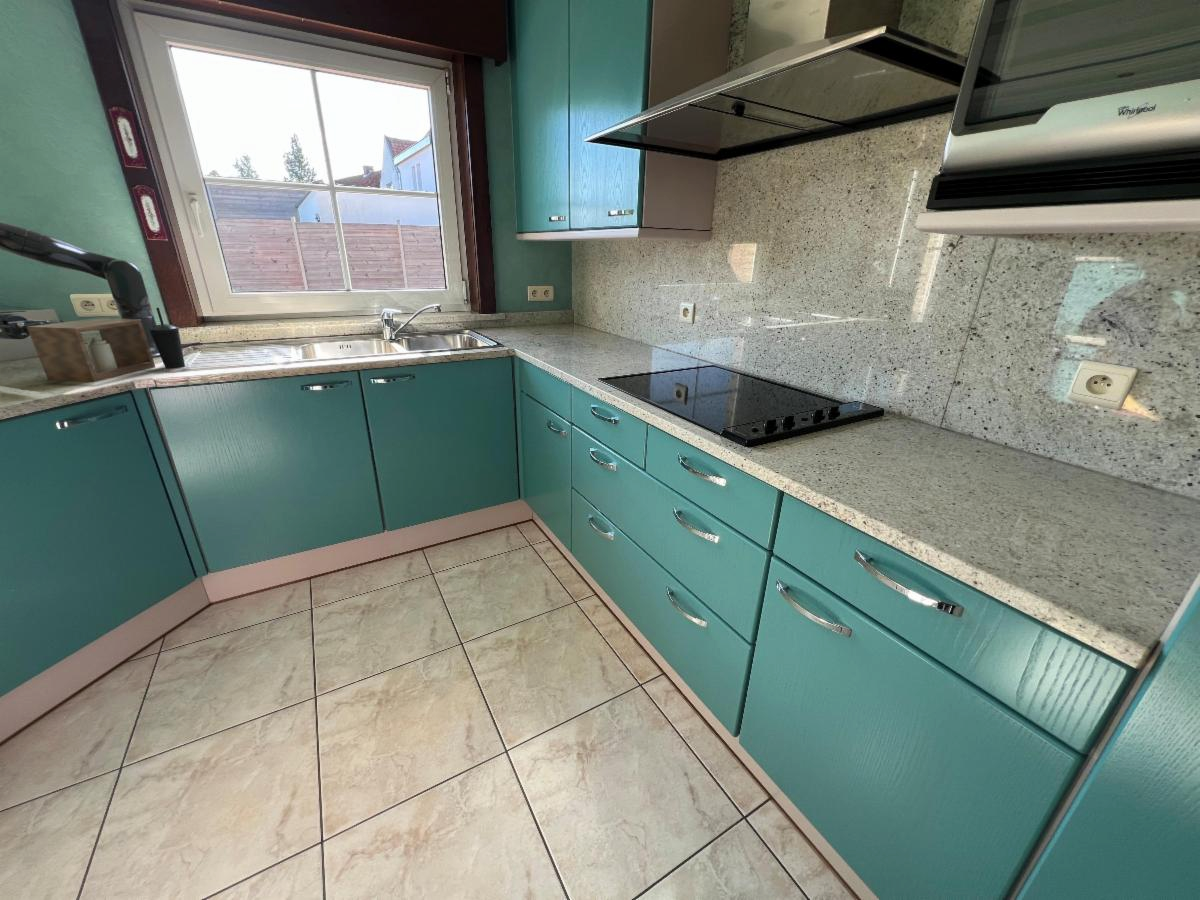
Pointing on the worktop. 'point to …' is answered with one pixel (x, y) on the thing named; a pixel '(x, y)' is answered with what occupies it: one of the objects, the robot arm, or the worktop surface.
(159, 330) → the drinking cup
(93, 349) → the bottle
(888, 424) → the worktop surface
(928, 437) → the worktop surface
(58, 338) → the cabinet
